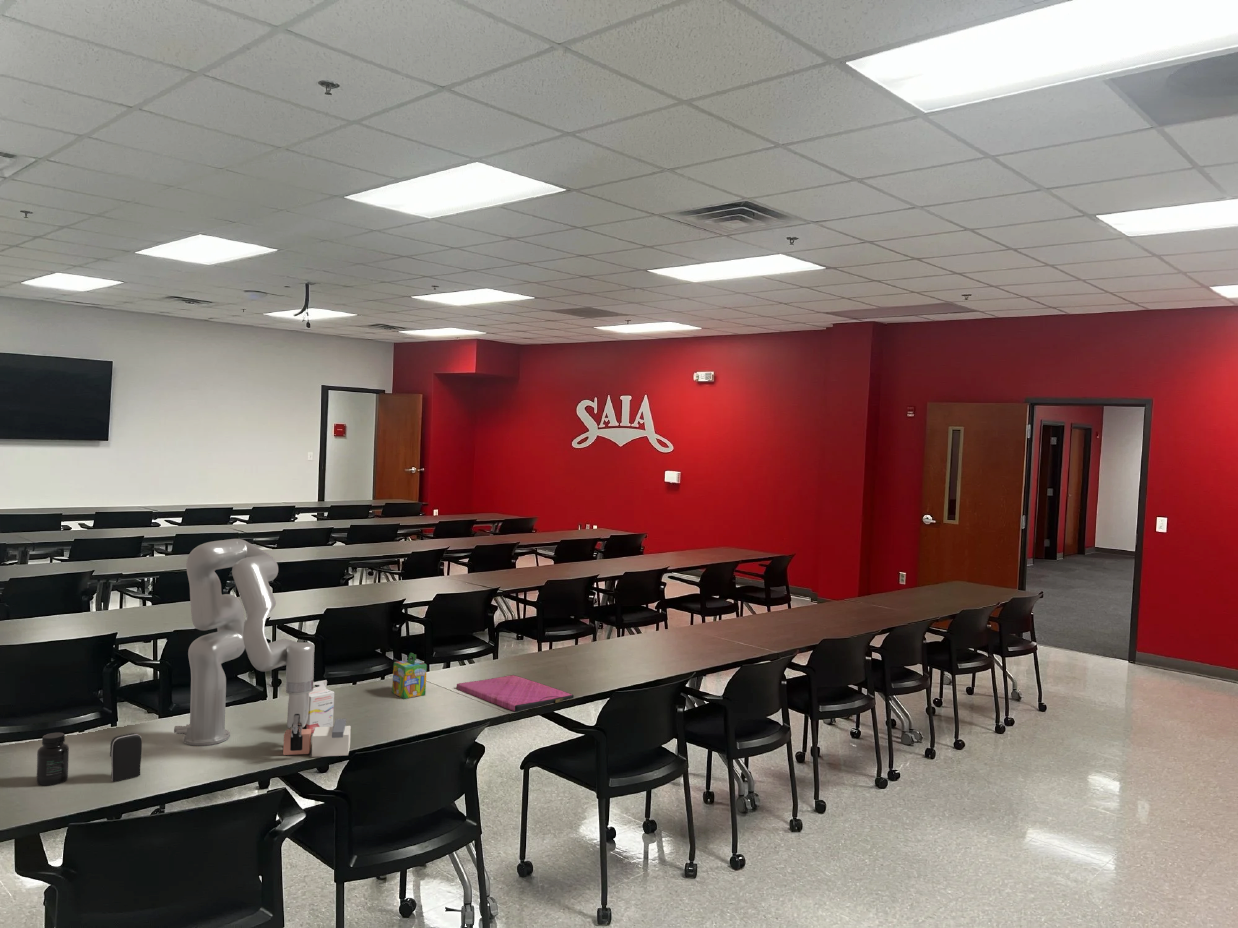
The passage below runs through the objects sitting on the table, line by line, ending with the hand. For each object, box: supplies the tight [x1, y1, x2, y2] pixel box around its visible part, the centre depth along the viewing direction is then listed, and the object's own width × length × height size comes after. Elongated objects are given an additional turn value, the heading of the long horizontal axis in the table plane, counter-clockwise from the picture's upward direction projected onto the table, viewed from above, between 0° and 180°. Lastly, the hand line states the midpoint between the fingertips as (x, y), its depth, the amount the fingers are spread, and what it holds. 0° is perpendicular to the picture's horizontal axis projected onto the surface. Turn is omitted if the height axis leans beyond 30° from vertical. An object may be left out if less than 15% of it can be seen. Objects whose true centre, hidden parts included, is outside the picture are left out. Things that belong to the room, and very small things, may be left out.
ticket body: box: [309, 718, 352, 758], centre depth 249 cm, size 11×12×8 cm
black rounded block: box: [109, 732, 143, 782], centre depth 224 cm, size 7×4×11 cm, turn 137°
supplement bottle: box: [36, 732, 70, 787], centre depth 220 cm, size 7×7×12 cm
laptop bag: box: [456, 674, 574, 713], centre depth 313 cm, size 40×4×27 cm
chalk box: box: [391, 652, 428, 700], centre depth 307 cm, size 9×9×15 cm
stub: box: [282, 729, 312, 756], centre depth 247 cm, size 7×4×6 cm, turn 104°
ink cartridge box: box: [306, 679, 335, 734], centre depth 267 cm, size 9×5×15 cm, turn 141°
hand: (298, 744), depth 246 cm, fingers open, 9 cm apart
